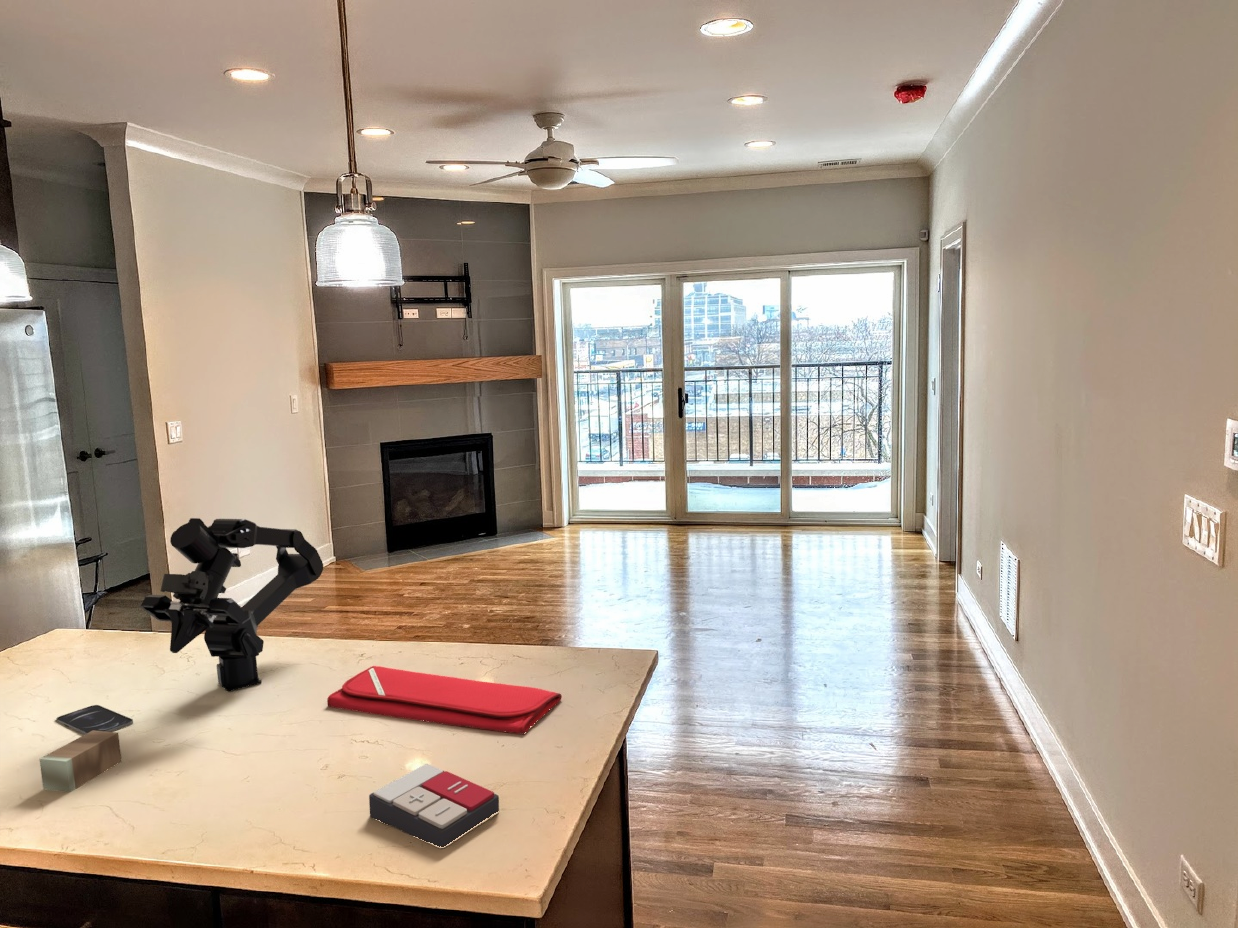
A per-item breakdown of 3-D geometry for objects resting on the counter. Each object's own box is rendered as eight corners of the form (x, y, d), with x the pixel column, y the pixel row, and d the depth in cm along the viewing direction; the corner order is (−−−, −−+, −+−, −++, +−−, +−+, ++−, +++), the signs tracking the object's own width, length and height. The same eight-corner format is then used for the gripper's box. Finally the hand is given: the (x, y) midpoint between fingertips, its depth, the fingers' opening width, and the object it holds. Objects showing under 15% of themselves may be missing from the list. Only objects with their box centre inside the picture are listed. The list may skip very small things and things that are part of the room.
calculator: (441, 827, 113) (367, 790, 122) (442, 857, 114) (368, 818, 122) (500, 790, 122) (426, 758, 130) (500, 818, 123) (427, 784, 131)
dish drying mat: (523, 738, 146) (522, 717, 146) (325, 710, 161) (323, 691, 160) (562, 702, 161) (561, 683, 160) (377, 679, 175) (376, 661, 175)
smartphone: (96, 703, 165) (135, 720, 157) (97, 708, 165) (136, 724, 157) (53, 718, 159) (91, 736, 150) (54, 722, 159) (92, 741, 151)
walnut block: (92, 730, 142) (39, 758, 133) (118, 732, 141) (66, 761, 132) (96, 759, 143) (43, 789, 133) (121, 761, 142) (70, 792, 132)
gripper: (142, 552, 161) (100, 629, 152) (228, 555, 157) (191, 634, 148) (177, 582, 170) (140, 656, 161) (260, 585, 165) (227, 662, 156)
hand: (173, 652), depth 156 cm, fingers closed
